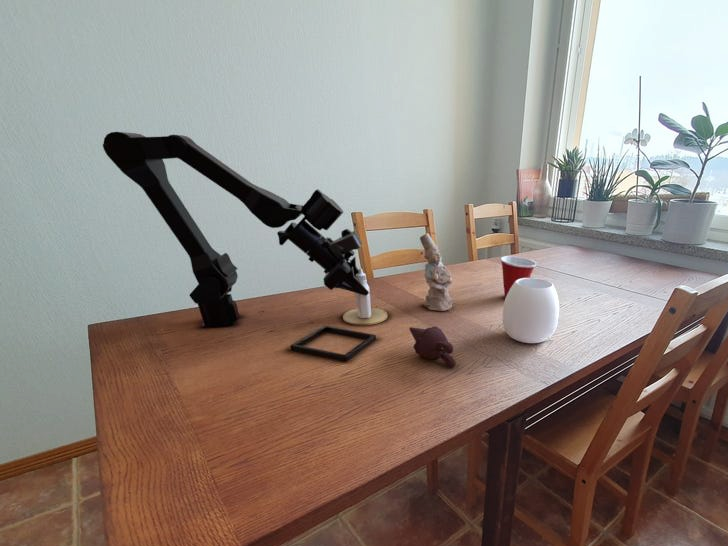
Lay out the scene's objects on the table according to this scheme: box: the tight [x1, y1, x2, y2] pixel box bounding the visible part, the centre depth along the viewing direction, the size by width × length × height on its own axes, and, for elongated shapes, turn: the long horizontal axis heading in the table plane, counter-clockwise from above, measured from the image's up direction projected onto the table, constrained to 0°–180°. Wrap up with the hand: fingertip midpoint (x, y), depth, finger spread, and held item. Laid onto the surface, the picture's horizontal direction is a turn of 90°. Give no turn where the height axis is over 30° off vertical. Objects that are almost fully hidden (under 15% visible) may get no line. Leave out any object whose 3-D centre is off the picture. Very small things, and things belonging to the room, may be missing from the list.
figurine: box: [419, 232, 453, 312], centre depth 101 cm, size 9×8×20 cm
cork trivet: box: [342, 307, 388, 326], centre depth 96 cm, size 11×11×1 cm
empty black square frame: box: [289, 325, 377, 363], centre depth 82 cm, size 13×11×1 cm
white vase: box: [501, 277, 560, 344], centre depth 88 cm, size 13×13×14 cm
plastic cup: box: [500, 255, 538, 299], centre depth 113 cm, size 11×11×12 cm
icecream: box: [408, 326, 457, 368], centre depth 78 cm, size 7×7×15 cm
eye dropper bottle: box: [354, 268, 372, 319], centre depth 93 cm, size 4×6×12 cm
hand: (368, 290), depth 93 cm, fingers closed on eye dropper bottle, 5 cm apart
